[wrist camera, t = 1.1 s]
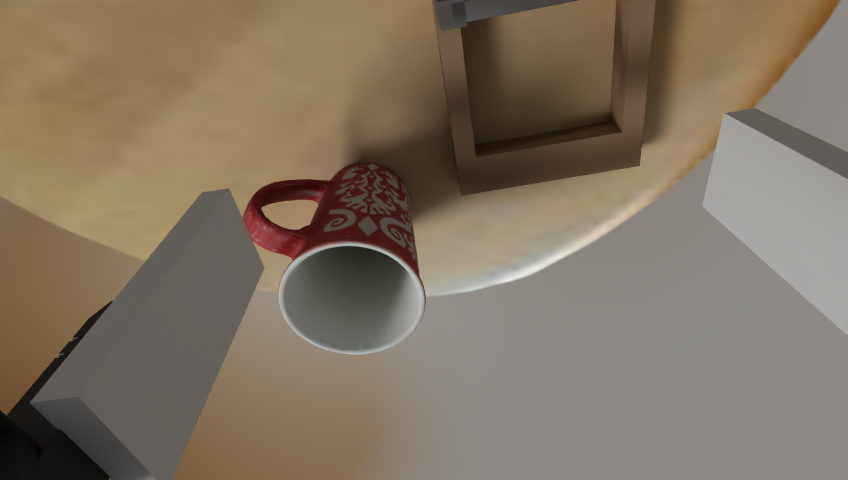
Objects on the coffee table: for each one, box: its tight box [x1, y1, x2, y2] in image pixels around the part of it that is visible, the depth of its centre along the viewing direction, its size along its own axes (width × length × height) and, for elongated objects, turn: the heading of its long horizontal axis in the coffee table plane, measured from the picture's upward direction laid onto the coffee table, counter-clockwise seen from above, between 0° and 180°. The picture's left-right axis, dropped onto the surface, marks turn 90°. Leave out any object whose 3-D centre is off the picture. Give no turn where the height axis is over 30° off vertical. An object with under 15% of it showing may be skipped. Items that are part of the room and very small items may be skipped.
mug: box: [243, 163, 426, 354], centre depth 32 cm, size 13×9×14 cm
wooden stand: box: [432, 0, 656, 196], centre depth 29 cm, size 18×14×8 cm
